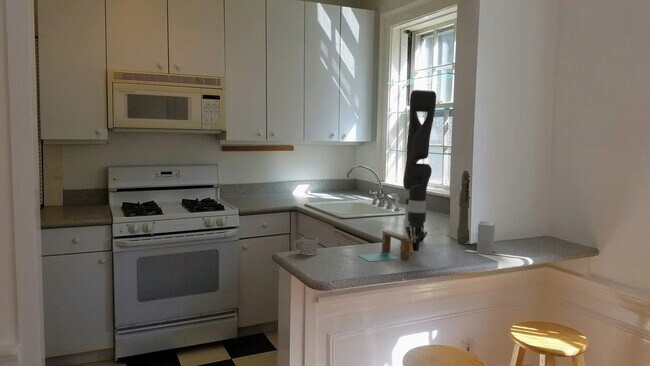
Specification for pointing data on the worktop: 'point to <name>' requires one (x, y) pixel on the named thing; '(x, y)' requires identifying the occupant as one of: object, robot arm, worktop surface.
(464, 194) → the olive green statue
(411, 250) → the ball
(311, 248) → the mug
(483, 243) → the small box
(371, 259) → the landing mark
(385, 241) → the bridge
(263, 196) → the worktop surface
